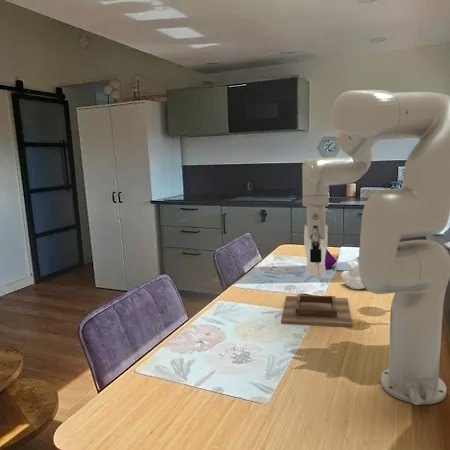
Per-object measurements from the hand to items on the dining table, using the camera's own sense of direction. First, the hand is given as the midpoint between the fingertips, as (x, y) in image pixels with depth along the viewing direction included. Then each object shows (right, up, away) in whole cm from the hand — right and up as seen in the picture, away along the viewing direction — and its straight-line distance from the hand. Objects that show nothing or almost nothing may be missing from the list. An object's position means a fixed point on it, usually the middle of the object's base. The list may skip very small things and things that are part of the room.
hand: (315, 258), depth 123 cm
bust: (+19, -13, +22) cm, 32 cm away
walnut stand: (+1, -17, +3) cm, 17 cm away
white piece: (0, -5, +1) cm, 5 cm away
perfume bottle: (+14, -8, +47) cm, 50 cm away
